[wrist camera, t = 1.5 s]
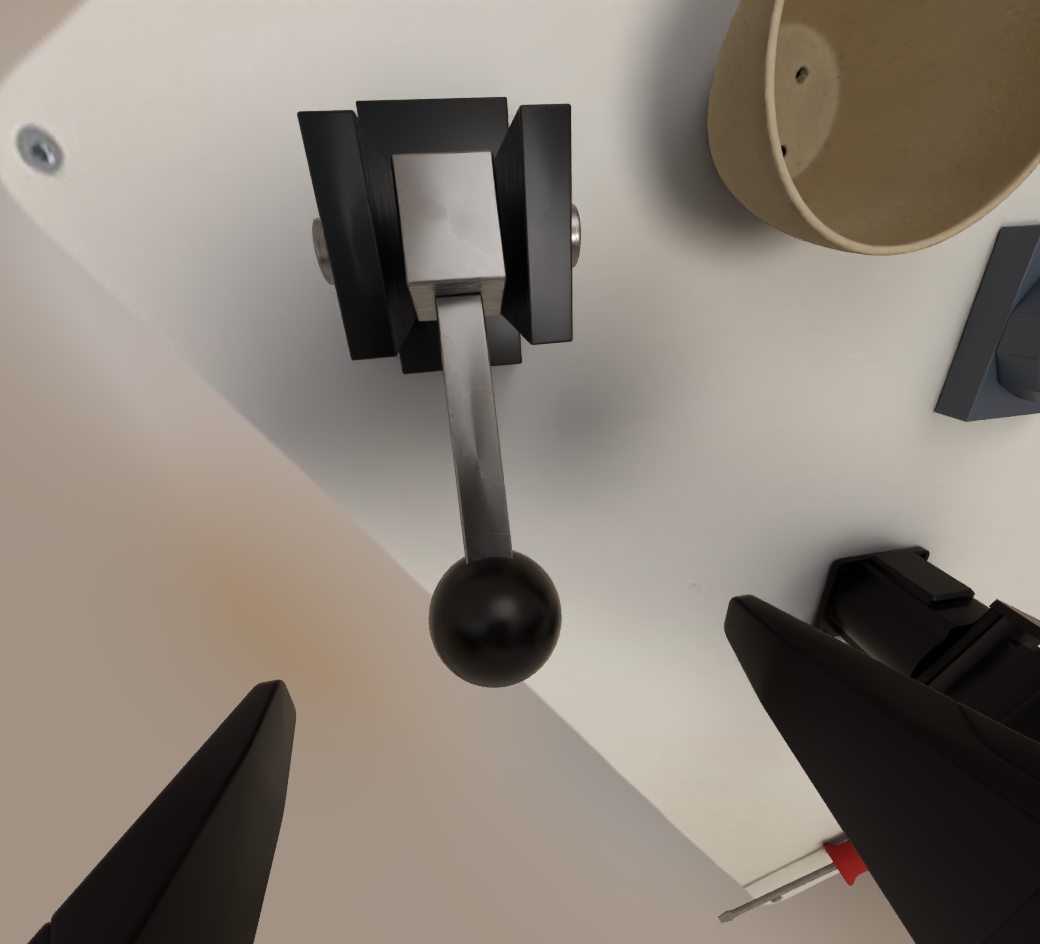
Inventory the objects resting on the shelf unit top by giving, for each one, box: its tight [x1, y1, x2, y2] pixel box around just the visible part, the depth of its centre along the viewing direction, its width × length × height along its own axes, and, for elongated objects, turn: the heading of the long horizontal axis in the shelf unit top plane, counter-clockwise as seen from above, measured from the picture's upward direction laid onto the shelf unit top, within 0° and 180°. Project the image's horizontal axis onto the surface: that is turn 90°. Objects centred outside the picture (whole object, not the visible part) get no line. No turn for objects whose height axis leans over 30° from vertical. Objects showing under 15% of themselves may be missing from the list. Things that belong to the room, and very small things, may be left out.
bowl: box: [707, 0, 1040, 255], centre depth 14 cm, size 10×10×7 cm
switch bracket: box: [297, 97, 581, 374], centre depth 14 cm, size 9×6×10 cm, turn 3°
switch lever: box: [390, 150, 562, 688], centre depth 11 cm, size 12×3×3 cm, turn 2°
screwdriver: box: [718, 840, 868, 923], centre depth 45 cm, size 4×25×4 cm
